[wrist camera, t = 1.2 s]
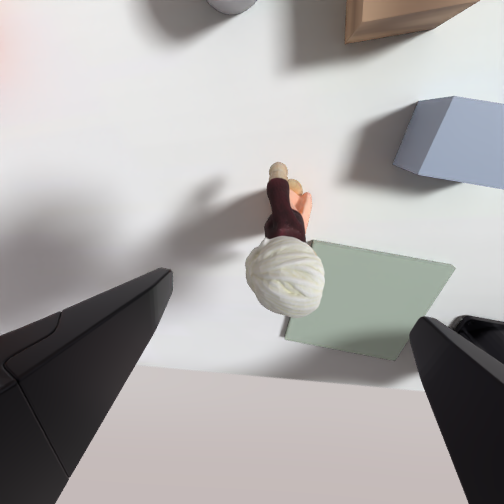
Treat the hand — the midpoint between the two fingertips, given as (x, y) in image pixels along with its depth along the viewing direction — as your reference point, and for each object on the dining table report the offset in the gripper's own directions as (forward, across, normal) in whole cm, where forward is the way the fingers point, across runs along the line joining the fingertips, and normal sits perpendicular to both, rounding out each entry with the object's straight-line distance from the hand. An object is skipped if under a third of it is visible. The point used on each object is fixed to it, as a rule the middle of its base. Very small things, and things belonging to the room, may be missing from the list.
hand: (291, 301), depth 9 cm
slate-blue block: (+13, -10, -6) cm, 17 cm away
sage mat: (+13, -9, +9) cm, 18 cm away
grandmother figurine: (+13, 0, 0) cm, 13 cm away
